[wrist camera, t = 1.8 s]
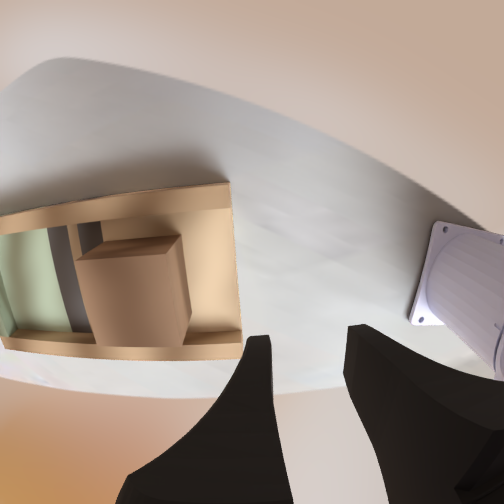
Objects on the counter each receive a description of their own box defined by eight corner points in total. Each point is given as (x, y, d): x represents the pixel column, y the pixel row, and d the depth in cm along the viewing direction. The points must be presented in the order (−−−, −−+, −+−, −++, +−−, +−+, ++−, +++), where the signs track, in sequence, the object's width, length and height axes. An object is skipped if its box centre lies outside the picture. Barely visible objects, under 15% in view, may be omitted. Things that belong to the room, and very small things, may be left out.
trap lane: (230, 182, 18) (228, 184, 15) (242, 337, 21) (243, 358, 18) (-12, 218, 17) (-31, 224, 15) (19, 334, 20) (5, 348, 18)
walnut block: (181, 234, 18) (165, 254, 14) (192, 312, 19) (181, 347, 15) (104, 241, 17) (74, 260, 14) (120, 314, 19) (97, 346, 15)
